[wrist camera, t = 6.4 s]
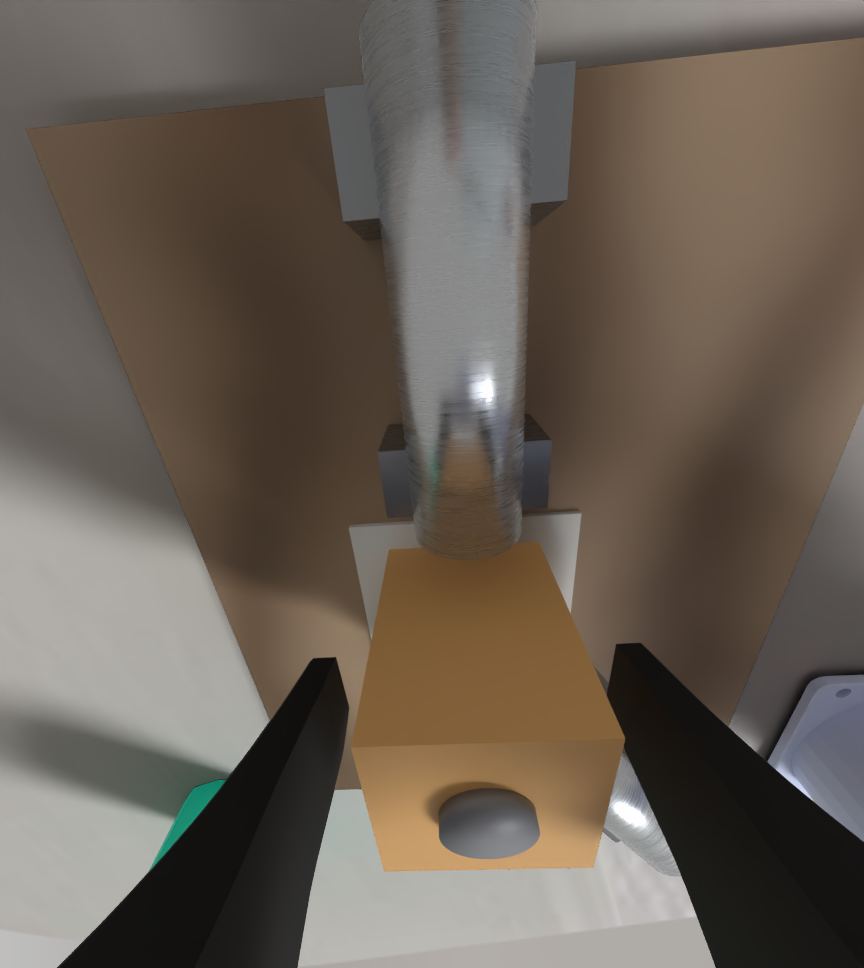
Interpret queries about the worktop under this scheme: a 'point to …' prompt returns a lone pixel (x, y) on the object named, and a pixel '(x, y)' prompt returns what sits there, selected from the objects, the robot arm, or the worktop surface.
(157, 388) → the board
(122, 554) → the worktop surface
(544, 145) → the shaft
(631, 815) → the shaft
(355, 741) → the tan wooden block
